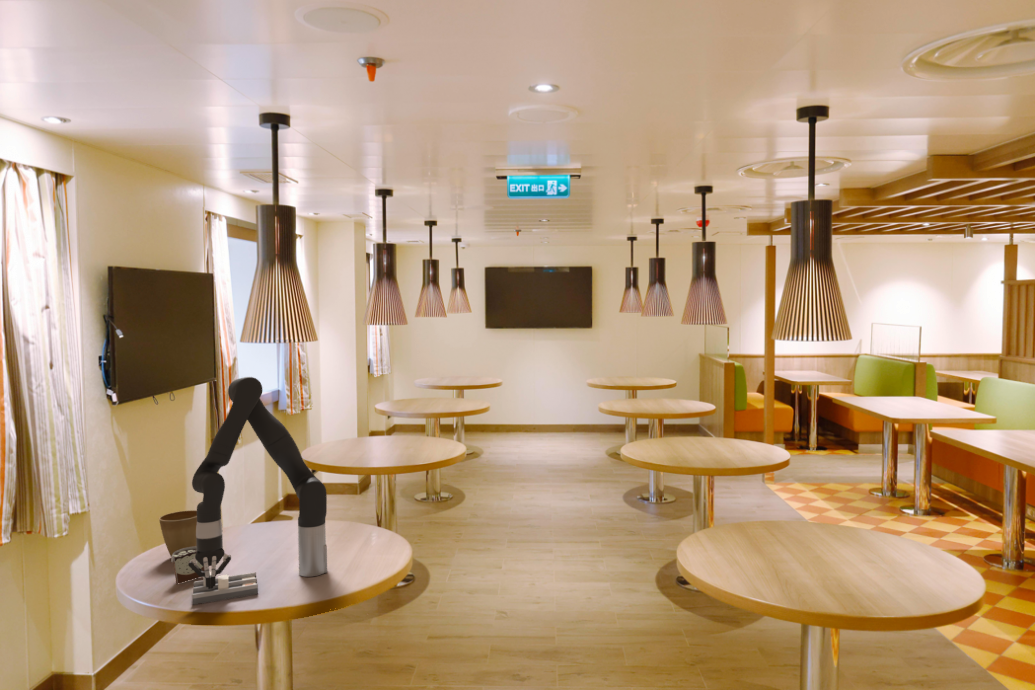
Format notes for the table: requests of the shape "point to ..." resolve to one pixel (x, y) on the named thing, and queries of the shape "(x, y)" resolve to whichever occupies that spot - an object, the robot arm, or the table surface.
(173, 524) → the plant pot
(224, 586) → the near tab
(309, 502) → the robot arm
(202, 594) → the switch panel
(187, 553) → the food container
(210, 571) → the far tab
